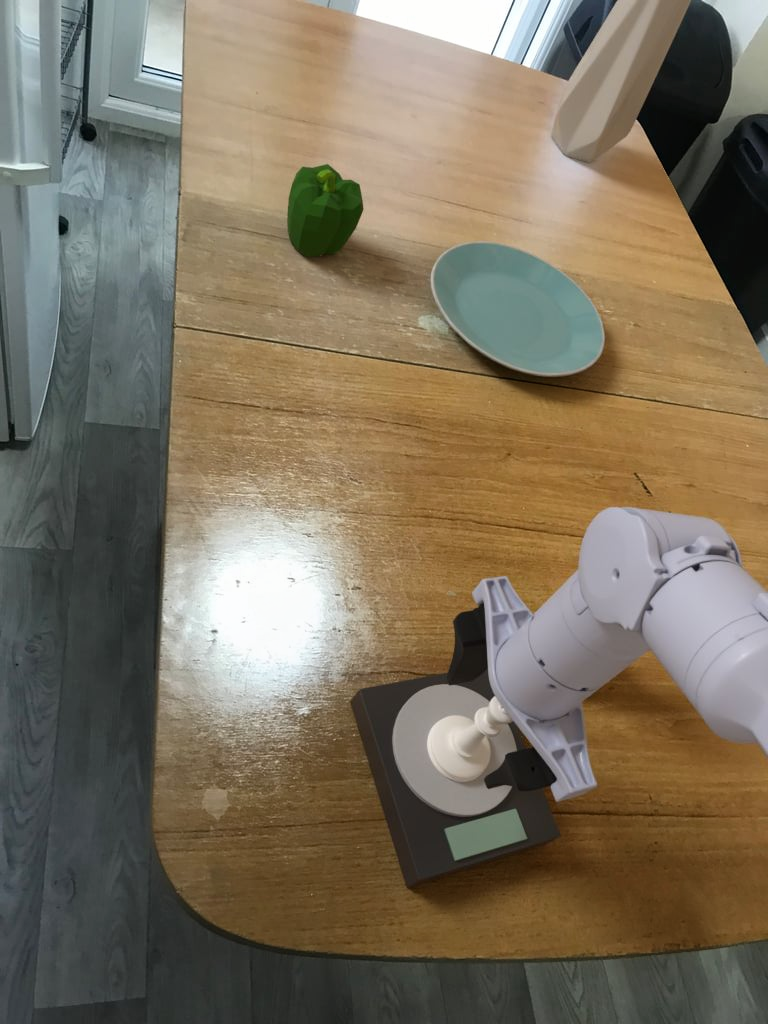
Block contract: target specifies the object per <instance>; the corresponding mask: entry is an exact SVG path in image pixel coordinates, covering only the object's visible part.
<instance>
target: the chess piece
mask: <svg viewBox="0 0 768 1024" xmlns="http://www.w3.org/2000/svg"><path fill="white" fill-rule="evenodd" d="M474 721H475V722H474ZM474 721H473V720H471V719H469V718H467V717H464V716H459V715H453V716H448V717H445V718H443V719H441V720H440V721H438V722H437V723H436V724H434V726H433V727H432V728H431V730H430V732H429V735H428V739H427V749H428V754H429V757H430V759H431V761H432V763H433V765H434V766H435V767H436V769H437V770H438V771H439V772H440V773H441V774H443V775H444V776H445V777H447V778H449V779H451V780H454V781H458V782H468V781H472V780H474V779H476V778H477V777H479V776H480V775H481V774H482V773H483V771H484V770H485V769H486V767H487V765H488V763H489V760H490V744H489V741H488V738H487V736H488V737H494V736H497V735H498V734H499V733H500V732H501V730H502V728H503V724H508V723H511V722H512V721H513V720H512V718H511V717H510V716H509V715H508V713H507V712H506V711H505V709H504V708H503V707H502V706H501V704H500V703H499V701H498V700H497V698H496V696H495V697H493V698H492V699H491V701H490V703H489V706H488V707H483V708H480V709H479V710H478V711H477V712H476V714H475V717H474Z"/></svg>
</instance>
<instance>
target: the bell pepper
mask: <svg viewBox="0 0 768 1024" xmlns="http://www.w3.org/2000/svg"><path fill="white" fill-rule="evenodd" d="M363 212H364V201H363V194H362V189H361V185H360V183H358V182H356V181H354V180H352V179H343V178H342V176H341V174H340V173H339V172H338V171H337V170H336V169H334V168H333V167H332V166H331V165H330V164H328V163H325V164H323V165H317V166H314V167H309V166H301V168H300V169H299V170H298V171H297V172H296V173H295V175H294V178H293V181H292V183H291V187H290V191H289V195H288V205H287V215H286V216H287V217H286V222H287V225H286V226H287V234H288V238H289V241H290V244H291V246H292V247H293V248H294V249H295V250H296V251H297V252H299V253H300V254H302V255H304V256H306V257H308V258H320V257H321V256H323V255H328V256H331V255H335V254H337V253H339V252H340V251H341V250H342V249H343V247H344V246H345V245H346V244H347V242H348V241H349V240H350V238H351V237H352V235H353V234H354V232H355V230H356V229H357V226H358V224H359V223H360V219H361V218H362V215H363Z"/></svg>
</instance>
